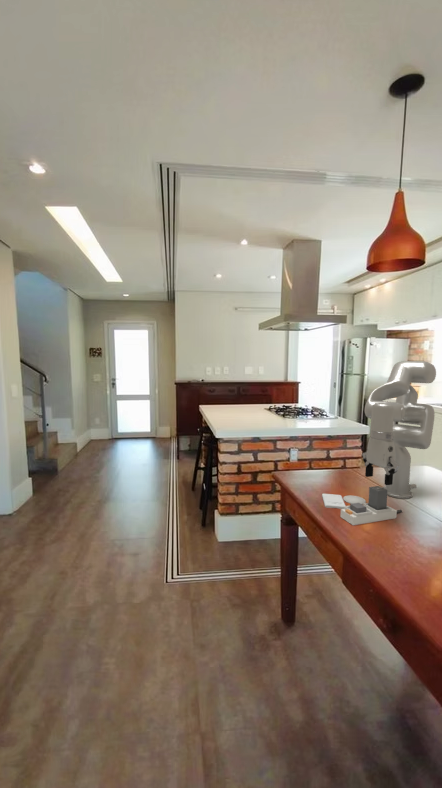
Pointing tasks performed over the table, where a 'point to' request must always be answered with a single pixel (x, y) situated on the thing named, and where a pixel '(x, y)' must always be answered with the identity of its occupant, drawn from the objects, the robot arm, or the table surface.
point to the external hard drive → (333, 501)
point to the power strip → (366, 514)
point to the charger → (377, 498)
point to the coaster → (354, 499)
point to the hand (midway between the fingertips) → (378, 480)
